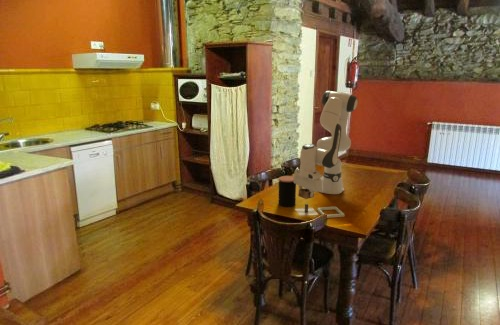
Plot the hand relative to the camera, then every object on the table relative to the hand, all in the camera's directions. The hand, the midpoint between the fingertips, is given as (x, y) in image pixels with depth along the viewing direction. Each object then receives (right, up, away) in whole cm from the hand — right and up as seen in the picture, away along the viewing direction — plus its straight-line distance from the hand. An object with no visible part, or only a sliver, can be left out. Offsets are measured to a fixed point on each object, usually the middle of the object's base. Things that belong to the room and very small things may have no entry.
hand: (306, 194), depth 207 cm
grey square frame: (+14, -12, 0) cm, 18 cm away
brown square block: (0, -1, 0) cm, 1 cm away
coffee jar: (-10, -8, +14) cm, 19 cm away
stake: (0, -11, +2) cm, 12 cm away
